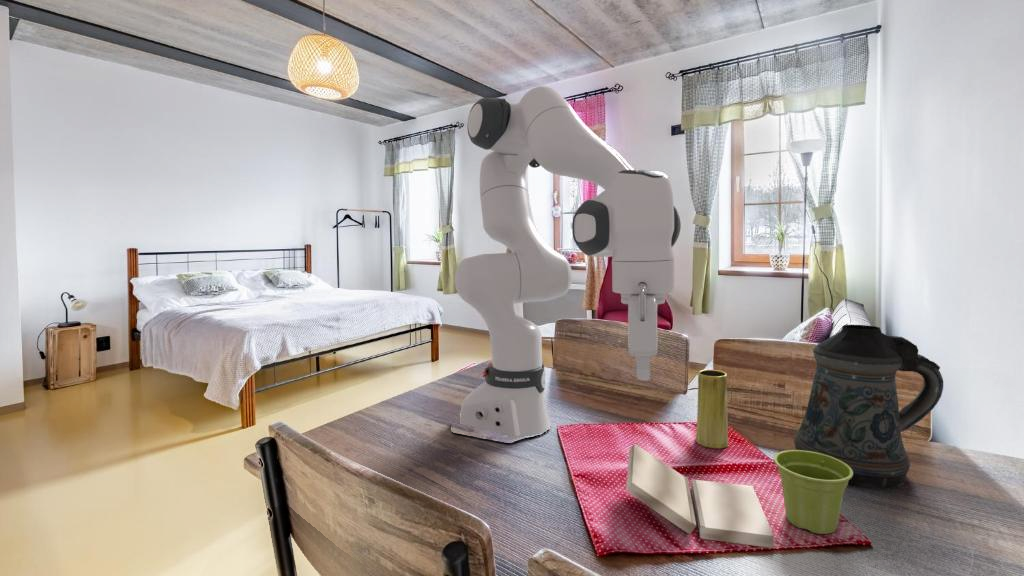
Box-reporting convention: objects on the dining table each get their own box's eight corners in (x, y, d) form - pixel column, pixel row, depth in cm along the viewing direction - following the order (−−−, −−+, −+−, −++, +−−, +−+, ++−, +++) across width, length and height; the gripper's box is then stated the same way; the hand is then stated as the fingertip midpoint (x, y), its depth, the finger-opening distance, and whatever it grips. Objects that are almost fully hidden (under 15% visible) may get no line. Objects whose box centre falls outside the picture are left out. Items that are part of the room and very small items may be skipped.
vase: (732, 450, 90) (733, 377, 89) (698, 448, 91) (698, 377, 90) (724, 436, 96) (725, 369, 95) (692, 435, 97) (693, 368, 96)
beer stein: (773, 449, 90) (776, 321, 87) (867, 441, 92) (872, 316, 89) (842, 495, 73) (848, 339, 71) (954, 485, 75) (964, 332, 73)
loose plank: (626, 490, 66) (632, 481, 66) (629, 450, 79) (634, 443, 78) (689, 534, 64) (696, 525, 64) (682, 486, 77) (688, 478, 76)
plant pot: (759, 506, 71) (760, 451, 70) (817, 501, 72) (819, 447, 71) (802, 545, 62) (803, 483, 61) (868, 539, 63) (871, 477, 62)
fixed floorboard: (700, 538, 64) (700, 525, 64) (691, 489, 76) (691, 478, 76) (773, 548, 62) (773, 535, 61) (752, 495, 74) (752, 485, 74)
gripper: (668, 286, 58) (668, 394, 59) (662, 274, 78) (663, 356, 79) (616, 287, 60) (618, 392, 61) (623, 275, 79) (624, 354, 81)
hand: (643, 371), depth 70 cm, fingers open, 7 cm apart
